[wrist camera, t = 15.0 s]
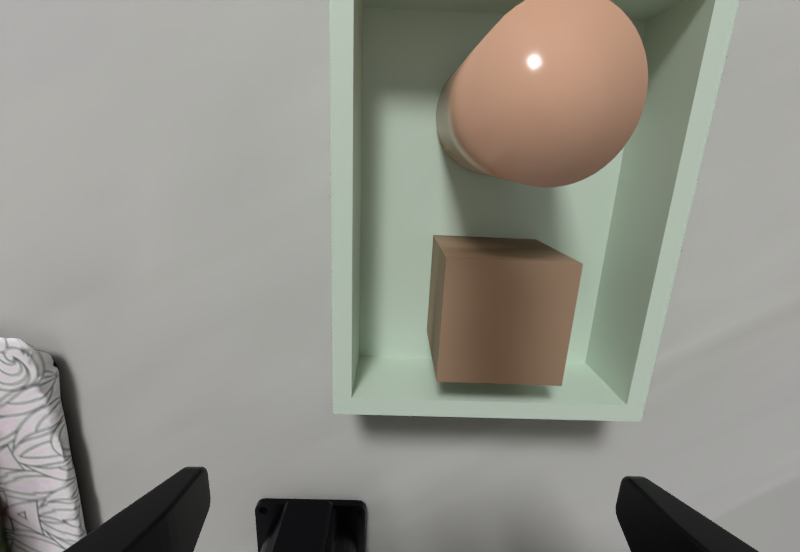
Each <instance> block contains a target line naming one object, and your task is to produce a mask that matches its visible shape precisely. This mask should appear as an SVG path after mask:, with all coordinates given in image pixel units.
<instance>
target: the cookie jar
mask: <svg viewBox="0 0 800 552" xmlns="http://www.w3.org/2000/svg"><path fill="white" fill-rule="evenodd" d="M86 535H87V534H86V529H85V524H84V518H83V512H82V506H81V501H80V495H79V490H78V485H77V479H76V474H75V469H74V463H73V458H72V453H71V447H70V442H69V436H68V431H67V426H66V421H65V417H64V412H63V407H62V403H61V398H60V381H59V371H58V368H57V366H56V364H55V362H54V360H53V359H52V357H51V355H50V354H49V353H45V352H41V351H37V350H34V349H33V346H31V345H28V344H26V343H24V342H23V341H22V340H20V339H19V338H2V337H0V552H63V551H64V550H66V549H67V548H69V547H70V546H71V545H73V544H74V543H76V542H77V541H79V540H80V539H82V538H83V537H84V536H86Z"/></svg>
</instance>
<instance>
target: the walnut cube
mask: <svg viewBox="0 0 800 552" xmlns="http://www.w3.org/2000/svg"><path fill="white" fill-rule="evenodd" d="M582 268H583V264H582V263H580V262H579V261H577V260H575V259H573V258H571V257H569V256H567V255H565V254H563V253H561V252H559V251H557V250H555V249H553V248H552V247H550V246H548V245H546V244H544V243H542V242H540V241H538V240H536V239H517V238H494V237H470V236H447V235H433V246H432V260H431V275H430V289H429V304H428V318H427V335H428V340H429V346H430V351H431V356H432V361H433V366H434V371H435V377H436V382H461V383H490V384H519V385H549V386H562V382H563V376H564V370H565V365H566V359H567V353H568V348H569V342H570V336H571V330H572V325H573V319H574V313H575V308H576V302H577V296H578V290H579V285H580V279H581V273H582Z"/></svg>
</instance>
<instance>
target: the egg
mask: <svg viewBox="0 0 800 552" xmlns="http://www.w3.org/2000/svg"><path fill="white" fill-rule="evenodd" d="M647 87H648V65H647V59H646V53H645V49H644V46H643V43H642V40H641V38H640V36H639V34H638V32H637V30H636V28H635V26H634V25H633V23H632V22H631V20H630V19H629V17H628V16H627V15H626V14H625V13H624V12H623V11H622V10H621V9H620V8H619V7H618V6H616V5H615V4H614V3H613V2H611V1H610V0H525V1H523V2H522V3H520V4H519V5H517V6H515V7H514V8H513V9H512V10H511V11H509V12H508V13H507V14H506V15H505V16H504V17H503V18H502V19H501V20H500V21H499V22H498V23H497V24H496V25H495V26H494V27H493V28H492V29H491V31H490V32H489V33H488V34H487V35H486V36H485V37H484V38H483V40H482V41H481V42H480V43H479V44H478V45H477V46H476V47H475V49H474V50H473V51H472V52H471V53H470V54H469V55H468V57H467V58H466V59H465V60H464V61H463V62H462V63H461V64H460V66H459V67H458V68H457V69H456V70H455V71H454V72H453V73H452V75H451V76H450V77H449V79H448V80H447V81H446V83H445V85H444V87H443V89H442V91H441V93H440V96H439V99H438V103H437V109H436V127H437V132H438V136H439V139H440V142H441V144H442V146H443V148H444V149H445V151H446V152H447V154H448V155H449V156H450V157H451V159H452V160H453V161H455V162H456V163H457V164H458V165H460V166H461V167H463V168H465V169H467V170H469V171H472V172H475V173H479V174H483V175H487V176H491V177H496V178H500V179H504V180H508V181H512V182H517V183H521V184H525V185H529V186H535V187H560V186H566V185H569V184H573V183H576V182H579V181H581V180H584V179H586V178H588V177H589V176H591V175H593V174H595V173H596V172H598V171H599V170H601V169H602V168H603V167H605V166H606V165H607V164H608V163H609V162H610V161H612V160H613V159H614V158H615V157H616V156H617V154H618V153H619V152H620V151H621V150H622V149H623V147H624V146H625V145H626V143H627V142H628V140H629V139H630V137H631V136H632V134H633V132H634V130H635V128H636V127H637V124H638V122H639V119H640V117H641V115H642V111H643V108H644V105H645V100H646V95H647Z"/></svg>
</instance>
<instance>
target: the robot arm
mask: <svg viewBox="0 0 800 552" xmlns="http://www.w3.org/2000/svg"><path fill="white" fill-rule="evenodd" d="M209 507H210V489H209V480H208V473H207V470H206V468H204V467H185V468H183V469H182V470H180V471H179V472H177V473H176V474H174V475H173V476H171V477H170V478H169V479H167V480H166V481H164V482H163V483H161V484H160V485H158V486H157V487H155V488H154V489H153V490H151V491H150V492H148V493H147V494H145V495H144V496H142V497H141V498H140V499H138V500H137V501H135V502H134V503H132V504H131V505H129V506H128V507H127V508H125V509H124V510H122V511H121V512H119V513H118V514H116V515H115V516H113V517H112V518H111V519H109V520H108V521H106V522H105V523H103V524H102V525H100V526H99V527H98V528H96V529H95V530H93V531H92V532H90V533H89V534H87V535H86V536H84V537H83V538H82V539H80V540H79V541H77V542H76V543H74V544H73V545H71V546H70V547H69V548H67V549H66V550H64V551H63V552H193V551H194V548H195V545H196V543H197V540H198V537H199V535H200V532H201V529H202V527H203V524H204V521H205V519H206V516H207V513H208V510H209ZM263 507H264V508H263ZM265 508H267V509H265ZM355 509H358V510H355ZM365 515H366V507H365V504H364V503H363V502H362V501H358V500H316V499H267V498H265V499H261V500H259V502H258V503H257V506H256V508H255V516H256V529H257V542H258V552H365ZM616 515H617V518H618V521H619V523H620V526H621V528H622V531H623V533H624V536H625V538H626V540H627V543H628V545H629V548H630V550H631V552H758V551H757V550H755V549H754V548H752V547H751V546H749V545H748V544H746V543H745V542H743V541H742V540H740V539H738V538H737V537H735V536H734V535H732V534H731V533H729V532H728V531H726V530H725V529H723V528H722V527H720V526H718V525H717V524H716V523H714V522H712V521H711V520H709V519H708V518H706V517H705V516H703V515H702V514H700V513H699V512H697V511H696V510H694V509H693V508H691V507H690V506H688V505H686V504H685V503H683V502H682V501H680V500H679V499H677V498H676V497H674V496H673V495H671V494H670V493H668V492H667V491H665V490H663V489H662V488H660V487H659V486H657V485H656V484H654V483H653V482H651V481H650V480H648V479H646V478H644V477H640V476H626V477H624V478H623V479H622V481H621V485H620V489H619V494H618V498H617V503H616Z"/></svg>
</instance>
